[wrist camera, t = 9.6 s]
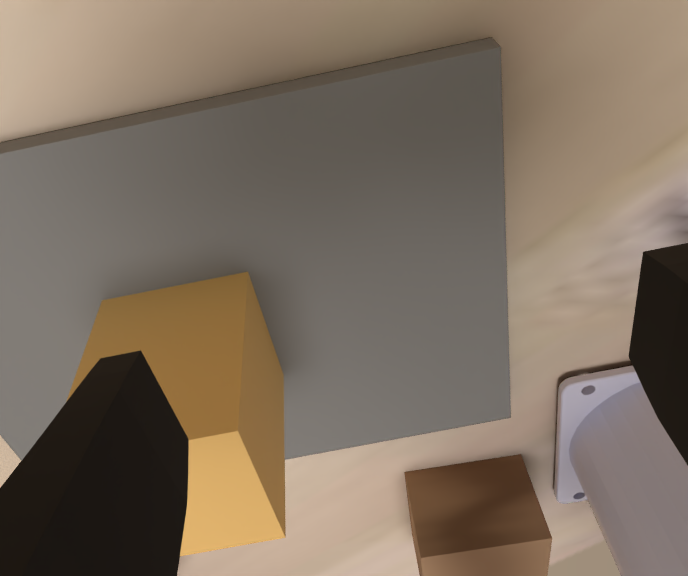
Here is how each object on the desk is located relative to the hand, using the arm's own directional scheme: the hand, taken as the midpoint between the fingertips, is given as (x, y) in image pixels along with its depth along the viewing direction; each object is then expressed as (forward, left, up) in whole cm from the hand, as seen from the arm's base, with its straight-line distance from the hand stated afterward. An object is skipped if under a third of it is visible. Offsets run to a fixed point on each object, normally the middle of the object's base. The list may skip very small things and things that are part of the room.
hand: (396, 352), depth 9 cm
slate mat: (+5, +6, -9) cm, 12 cm away
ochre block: (+6, +6, -9) cm, 12 cm away
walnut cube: (-2, +19, -10) cm, 21 cm away
